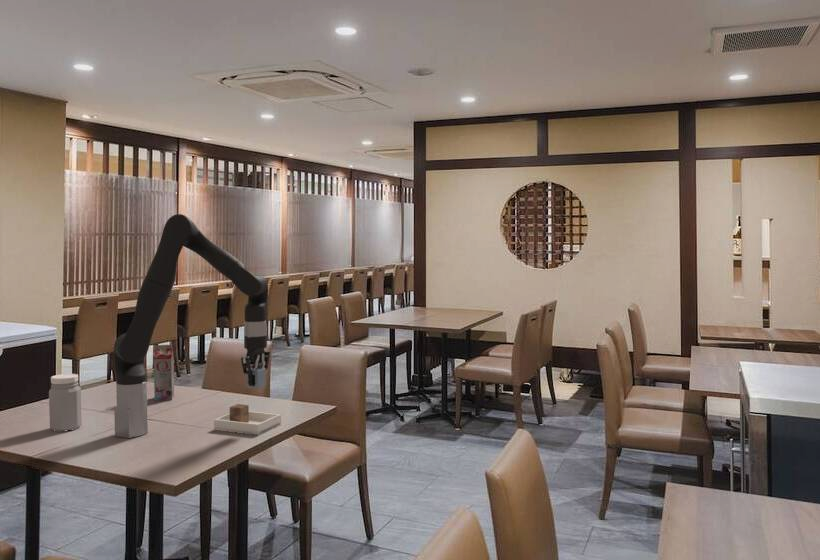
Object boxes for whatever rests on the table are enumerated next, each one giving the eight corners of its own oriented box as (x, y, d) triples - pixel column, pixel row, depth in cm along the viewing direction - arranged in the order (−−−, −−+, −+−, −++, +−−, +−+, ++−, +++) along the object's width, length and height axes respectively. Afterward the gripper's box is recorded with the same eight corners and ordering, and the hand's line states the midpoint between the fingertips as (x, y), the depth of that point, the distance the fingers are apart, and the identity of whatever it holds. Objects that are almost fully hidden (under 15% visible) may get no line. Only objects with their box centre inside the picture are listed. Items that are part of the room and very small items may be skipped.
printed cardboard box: (172, 400, 257) (171, 345, 256) (154, 401, 255) (153, 346, 254) (174, 396, 263) (173, 343, 262) (157, 397, 262) (156, 344, 260)
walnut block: (229, 424, 218) (229, 407, 218) (237, 421, 222) (237, 404, 222) (241, 425, 216) (240, 408, 216) (248, 422, 221) (248, 405, 220)
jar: (65, 433, 210) (64, 379, 209) (42, 431, 213) (41, 377, 212) (88, 425, 220) (87, 374, 219) (66, 423, 223) (64, 372, 222)
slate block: (246, 387, 215) (246, 369, 215) (254, 384, 219) (254, 367, 219) (258, 388, 213) (258, 370, 213) (265, 385, 217) (265, 368, 217)
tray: (258, 435, 209) (258, 424, 208) (214, 429, 215) (213, 419, 215) (280, 424, 221) (280, 414, 221) (238, 419, 227) (238, 410, 227)
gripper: (258, 331, 223) (258, 379, 224) (233, 336, 210) (234, 387, 211) (276, 332, 221) (277, 381, 222) (252, 337, 207) (253, 389, 208)
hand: (256, 384), depth 216 cm, fingers closed on slate block, 4 cm apart
